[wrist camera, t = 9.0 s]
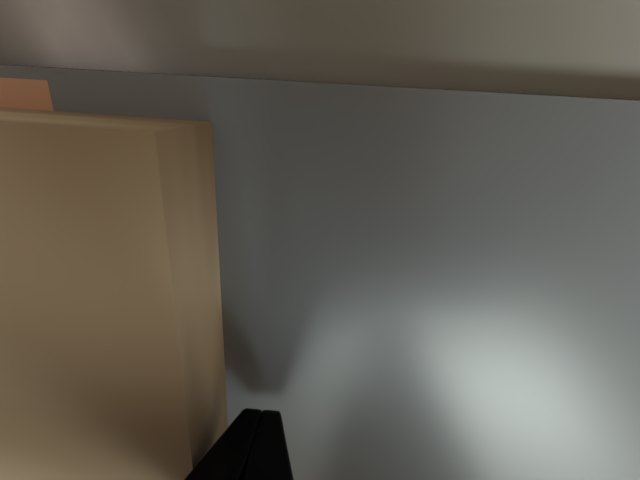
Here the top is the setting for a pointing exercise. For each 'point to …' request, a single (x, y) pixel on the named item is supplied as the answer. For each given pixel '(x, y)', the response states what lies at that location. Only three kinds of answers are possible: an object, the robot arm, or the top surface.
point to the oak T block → (108, 297)
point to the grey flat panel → (414, 268)
